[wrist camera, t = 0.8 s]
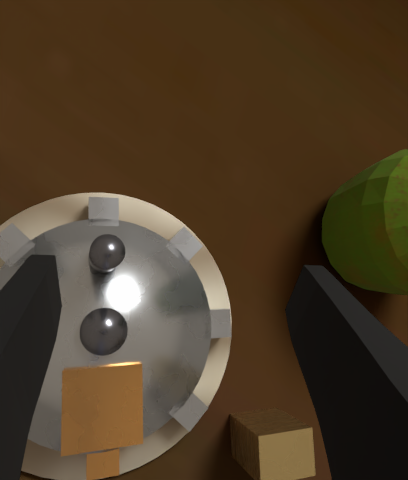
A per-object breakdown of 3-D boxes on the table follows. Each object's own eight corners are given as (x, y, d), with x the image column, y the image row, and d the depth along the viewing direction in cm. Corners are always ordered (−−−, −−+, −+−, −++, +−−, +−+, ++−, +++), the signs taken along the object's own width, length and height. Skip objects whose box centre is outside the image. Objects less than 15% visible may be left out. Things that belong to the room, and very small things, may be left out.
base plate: (235, 452, 29) (237, 454, 28) (-69, 506, 23) (-72, 509, 22) (224, 199, 31) (226, 198, 31) (-50, 186, 25) (-52, 185, 25)
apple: (327, 158, 35) (428, 101, 25) (415, 207, 38) (540, 174, 28) (292, 268, 32) (390, 255, 22) (390, 313, 35) (518, 320, 25)
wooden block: (276, 407, 30) (312, 427, 26) (278, 447, 30) (315, 475, 25) (229, 413, 29) (258, 436, 24) (231, 455, 29) (260, 486, 24)
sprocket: (228, 446, 28) (262, 480, 23) (-57, 494, 22) (-98, 554, 17) (218, 207, 30) (247, 188, 25) (-40, 196, 25) (-72, 170, 20)
